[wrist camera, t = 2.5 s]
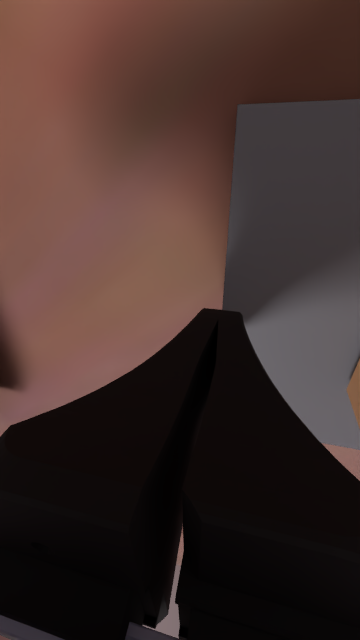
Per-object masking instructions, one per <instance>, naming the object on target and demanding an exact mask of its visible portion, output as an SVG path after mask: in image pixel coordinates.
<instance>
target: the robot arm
mask: <svg viewBox="0 0 360 640" xmlns="http://www.w3.org/2000/svg"><path fill="white" fill-rule="evenodd" d="M182 524H183V538H184V553H183V559H182V564H181V570H180V575H179V581H178V586H177V592H176V598H175V603H176V604H178V607H179V620H180V629H179V639H178V638H175V637H172V636H169V635H166V634H163V633H161V632H158V631H155V630H152V629H149V628H146V627H144V626H142V625H146V626H149V627H151V628H154V629H155V628H156V625H157V624H158V623H159V622H161V620H163V619H164V617H166V616H167V615H168V610H169V604H170V597H171V591H172V585H173V579H174V572H175V566H176V560H177V554H178V548H179V542H180V536H181V530H182ZM0 635H1V636H3V637H6V638H8V639H11V640H360V481H359V480H358V479H357V478H356V477H355V476H354V475H353V474H351V473H350V472H349V471H348V470H347V469H346V468H345V467H344V466H343V465H342V464H341V463H340V462H339V461H338V460H337V459H336V458H335V457H334V456H333V455H332V454H331V453H330V452H329V451H328V450H327V449H326V448H325V447H324V446H323V445H322V444H321V443H320V441H319V440H318V439H317V438H316V437H315V436H314V435H313V433H312V432H311V431H310V430H309V429H308V428H307V426H306V425H305V424H304V423H303V422H302V421H301V419H300V418H299V417H298V416H297V415H296V414H295V412H294V411H293V410H292V409H291V407H290V406H289V405H288V403H287V402H286V401H285V399H284V398H283V397H282V395H281V394H280V392H279V391H278V389H277V388H276V387H275V385H274V384H273V382H272V381H271V379H270V377H269V376H268V374H267V372H266V371H265V369H264V367H263V365H262V364H261V362H260V360H259V358H258V356H257V354H256V352H255V350H254V348H253V346H252V344H251V341H250V339H249V337H248V334H247V331H246V328H245V325H244V321H243V315H242V314H241V313H240V312H236V311H226V310H217V309H207V308H204V309H202V310H201V311H200V312H199V313H198V314H197V315H196V316H195V318H194V319H193V320H192V321H191V322H190V323H189V324H188V325H187V326H186V327H185V328H184V329H183V330H182V331H181V332H180V333H179V334H178V335H177V336H176V337H174V338H173V339H172V340H171V341H170V342H169V343H168V344H166V345H165V346H164V347H163V348H162V349H160V350H159V351H158V352H157V353H156V354H154V355H153V356H152V357H150V358H149V359H148V360H146V361H145V362H144V363H142V364H141V365H139V366H138V367H136V368H135V369H133V370H132V371H130V372H128V373H127V374H125V375H123V376H121V377H120V378H118V379H116V380H114V381H113V382H111V383H109V384H107V385H106V386H104V387H102V388H100V389H98V390H96V391H94V392H92V393H90V394H88V395H86V396H83V397H81V398H79V399H77V400H75V401H72V402H70V403H68V404H66V405H63V406H61V407H58V408H56V409H53V410H51V411H48V412H46V413H43V414H40V415H38V416H35V417H33V418H30V419H27V420H25V421H22V422H19V423H16V424H14V425H11V426H10V427H9V428H8V429H7V430H6V431H5V432H4V433H3V434H2V435H1V437H0Z"/></svg>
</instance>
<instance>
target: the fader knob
mask: <svg viewBox="0 0 360 640" xmlns="http://www.w3.org/2000/svg"><path fill="white" fill-rule="evenodd" d="M346 390H347V393H348V396H349V399H350V402H351V405H352V408H353V411H354V414H355V417H356V420H357V423H358V426H359V428H360V359H359V362H358V364H357V366H356V368H355V371H354V373H353V375H352V378H351V380H350V382H349V385H348V387H347V389H346Z"/></svg>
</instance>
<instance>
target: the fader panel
mask: <svg viewBox="0 0 360 640" xmlns="http://www.w3.org/2000/svg"><path fill="white" fill-rule="evenodd" d="M222 310H226V311H236V312H240V313H241V314H242V315H243V321H244V325H245V328H246V331H247V334H248V337H249V339H250V341H251V344H252V346H253V348H254V350H255V352H256V354H257V356H258V358H259V360H260V362H261V364H262V365H263V367H264V369H265V371H266V372H267V374H268V376H269V377H270V379H271V381H272V382H273V384H274V385H275V387H276V388H277V389H278V391H279V392H280V394H281V395H282V397H283V398H284V399H285V401H286V402H287V403H288V405H289V406H290V407H291V409H292V410H293V411H294V412H295V414H296V415H297V416H298V417H299V418H300V419H301V421H302V422H303V423H304V424H305V425H306V426H307V428H308V429H309V430H310V431H311V432H312V433H313V435H314V436H315V437H316V438H317V439H318V440H319V441H320V443H325V444H331V445H336V446H341V447H347V448H352V449H358V450H360V428H359V426H358V423H357V420H356V417H355V414H354V411H353V408H352V405H351V402H350V399H349V396H348V393H347V390H346V389H347V387H348V385H349V382H350V380H351V378H352V375H353V373H354V371H355V368H356V366H357V364H358V362H359V359H360V99H349V100H327V101H305V102H282V103H260V104H238V106H237V120H236V133H235V147H234V160H233V174H232V187H231V201H230V214H229V228H228V241H227V255H226V268H225V282H224V295H223V309H222Z"/></svg>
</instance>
